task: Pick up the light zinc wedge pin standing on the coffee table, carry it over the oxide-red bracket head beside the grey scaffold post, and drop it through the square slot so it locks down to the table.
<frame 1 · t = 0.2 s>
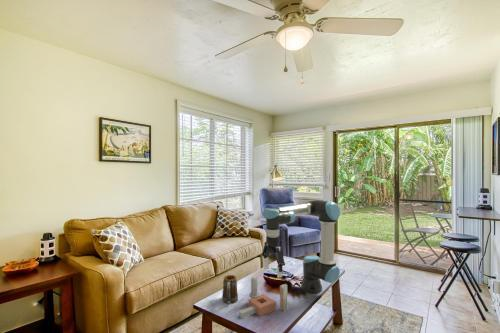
hand: (272, 272, 149), 27 cm above the table, fingers open, 13 cm apart
wedge pin: (283, 310, 159), on the table
ringlock node: (262, 308, 160), on the table
mug: (229, 302, 169), on the table
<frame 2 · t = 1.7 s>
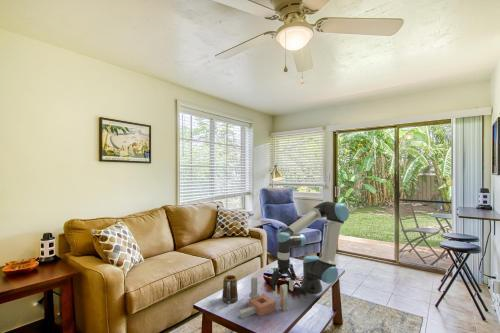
hand: (283, 292, 159), 11 cm above the table, fingers open, 13 cm apart
nothing on the table moved.
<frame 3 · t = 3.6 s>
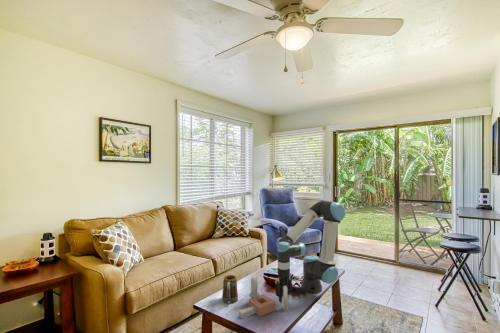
hand: (283, 305, 159), 3 cm above the table, fingers closed on wedge pin, 3 cm apart
wedge pin: (283, 310, 159), on the table, touching gripper
everything else where it was.
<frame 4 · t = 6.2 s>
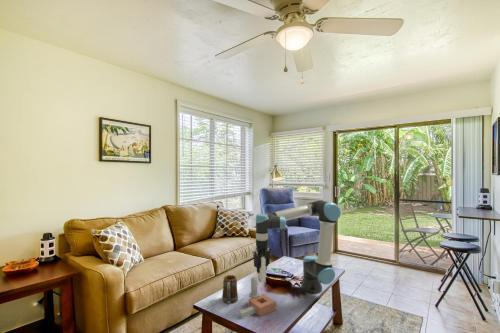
hand: (261, 276, 161), 20 cm above the table, fingers closed on wedge pin, 3 cm apart
wedge pin: (261, 281, 161), point 17 cm above the table, touching gripper
everything else where it was.
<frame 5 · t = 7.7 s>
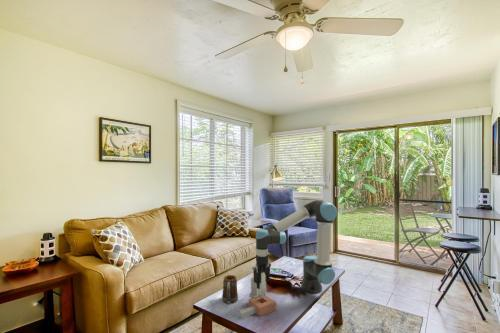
hand: (261, 292, 160), 10 cm above the table, fingers closed on wedge pin, 3 cm apart
wedge pin: (261, 296, 160), point 7 cm above the table, touching gripper
everything else where it was.
when the fingers open (7 cm above the table, at t = 9.0 s): wedge pin drops 4 cm, resting in ringlock node.
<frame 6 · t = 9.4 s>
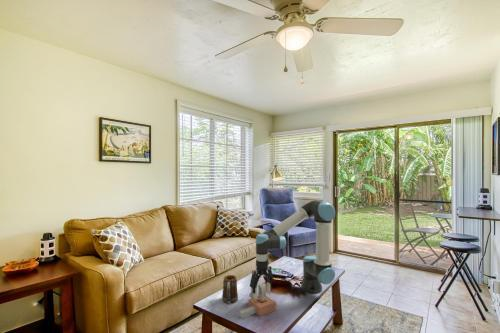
hand: (261, 295, 160), 8 cm above the table, fingers open, 10 cm apart
wedge pin: (262, 308, 160), resting in ringlock node
everything else where it was.
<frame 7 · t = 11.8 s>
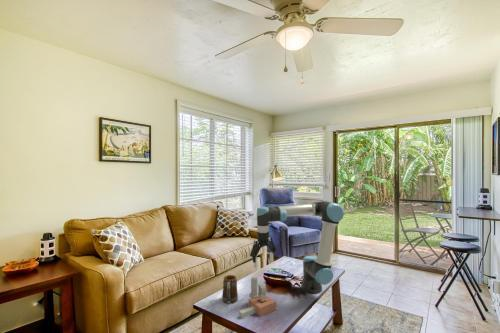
hand: (263, 264, 165), 26 cm above the table, fingers open, 13 cm apart
nothing on the table moved.
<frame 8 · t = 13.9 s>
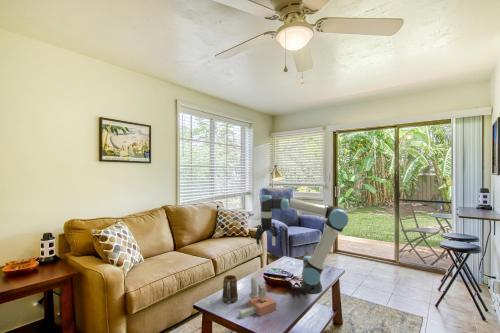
hand: (266, 247, 182), 32 cm above the table, fingers open, 13 cm apart
nothing on the table moved.
at the end: wedge pin 0.1 cm off-centre on the ringlock node, point 0.0 cm above the ringlock node's base; wedge pin tilted 0°; the gripper is holding nothing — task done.
